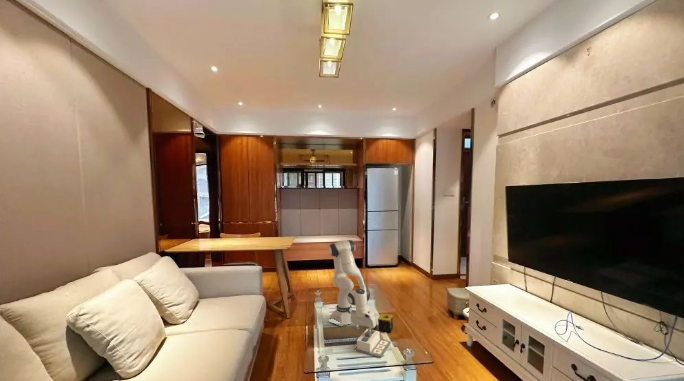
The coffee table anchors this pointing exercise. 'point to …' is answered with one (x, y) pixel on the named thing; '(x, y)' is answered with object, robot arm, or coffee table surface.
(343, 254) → the robot arm
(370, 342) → the switch unit
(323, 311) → the coffee table surface
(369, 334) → the switch
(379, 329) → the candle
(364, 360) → the coffee table surface
